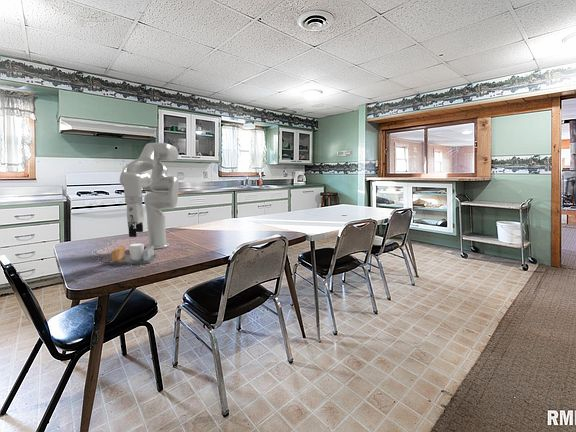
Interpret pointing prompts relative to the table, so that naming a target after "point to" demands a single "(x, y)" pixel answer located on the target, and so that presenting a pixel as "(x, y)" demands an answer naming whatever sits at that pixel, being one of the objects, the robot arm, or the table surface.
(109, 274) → the table surface
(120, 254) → the slide jaw
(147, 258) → the vise base
